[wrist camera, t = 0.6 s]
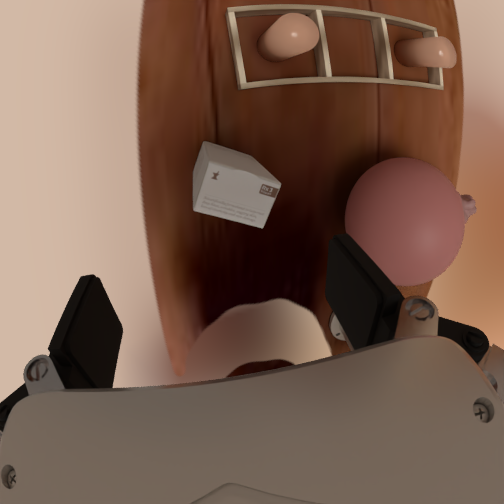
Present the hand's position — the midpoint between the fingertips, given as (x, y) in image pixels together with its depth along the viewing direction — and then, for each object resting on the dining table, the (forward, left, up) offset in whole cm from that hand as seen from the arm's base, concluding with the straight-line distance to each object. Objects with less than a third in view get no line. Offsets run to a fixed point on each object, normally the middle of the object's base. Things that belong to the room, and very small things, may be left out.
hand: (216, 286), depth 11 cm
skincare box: (-1, -2, -24) cm, 24 cm away
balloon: (-9, -24, -24) cm, 35 cm away
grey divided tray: (+12, -19, -23) cm, 32 cm away
